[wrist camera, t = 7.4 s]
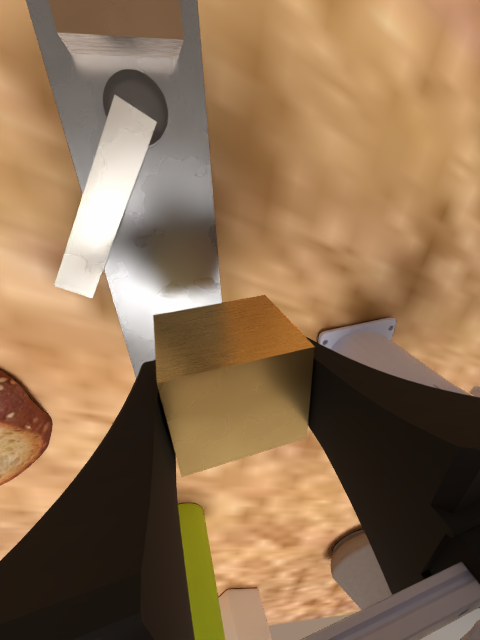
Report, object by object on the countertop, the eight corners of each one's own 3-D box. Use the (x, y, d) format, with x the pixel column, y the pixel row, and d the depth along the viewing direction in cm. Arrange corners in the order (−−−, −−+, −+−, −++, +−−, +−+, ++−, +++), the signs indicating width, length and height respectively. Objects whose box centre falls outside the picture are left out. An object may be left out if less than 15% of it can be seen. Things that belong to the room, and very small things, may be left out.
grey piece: (217, 340, 22) (234, 381, 18) (138, 356, 21) (136, 404, 16) (186, 23, 13) (206, -43, 9) (44, 14, 12) (-10, -71, 8)
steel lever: (105, 284, 14) (100, 300, 13) (57, 267, 13) (44, 282, 12) (173, 107, 12) (177, 96, 10) (119, 69, 11) (114, 51, 9)
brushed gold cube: (266, 370, 13) (306, 437, 10) (171, 394, 12) (181, 477, 9) (264, 295, 12) (314, 346, 8) (153, 315, 11) (157, 383, 7)
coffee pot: (339, 563, 55) (397, 683, 42) (312, 554, 48) (371, 691, 36) (428, 499, 52) (518, 605, 40) (412, 481, 46) (512, 599, 34)
